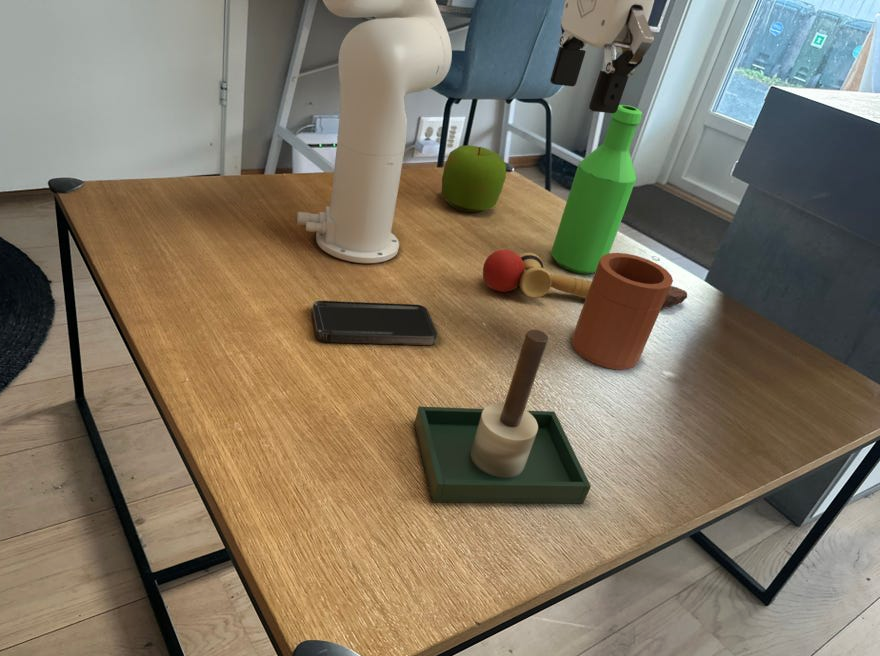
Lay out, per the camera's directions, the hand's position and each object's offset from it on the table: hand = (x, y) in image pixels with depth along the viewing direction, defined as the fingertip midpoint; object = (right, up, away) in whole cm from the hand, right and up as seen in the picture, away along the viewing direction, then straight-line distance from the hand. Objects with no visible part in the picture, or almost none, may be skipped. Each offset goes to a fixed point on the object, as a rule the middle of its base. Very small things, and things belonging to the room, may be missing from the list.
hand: (581, 97), depth 79 cm
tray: (-11, -40, -8) cm, 42 cm away
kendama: (0, -20, +25) cm, 32 cm away
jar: (+7, -28, +14) cm, 32 cm away
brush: (-11, -40, -8) cm, 42 cm away
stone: (+19, -21, +29) cm, 41 cm away
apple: (-8, -2, +49) cm, 49 cm away
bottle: (+8, -14, +35) cm, 39 cm away
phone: (-24, -26, +9) cm, 36 cm away
